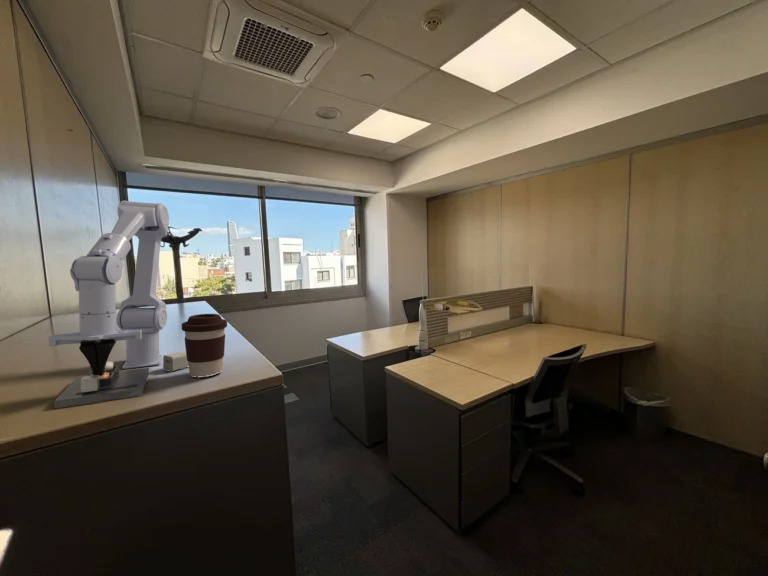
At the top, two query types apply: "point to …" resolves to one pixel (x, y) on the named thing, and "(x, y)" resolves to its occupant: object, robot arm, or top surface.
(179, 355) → the usb wall charger
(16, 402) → the top surface
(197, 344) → the coffee cup
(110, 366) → the off-white button
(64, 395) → the control panel
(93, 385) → the light grey block
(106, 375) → the terracotta button
